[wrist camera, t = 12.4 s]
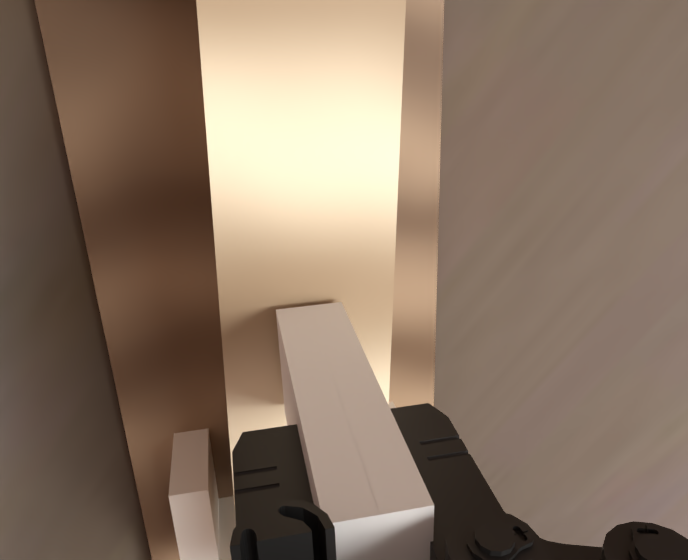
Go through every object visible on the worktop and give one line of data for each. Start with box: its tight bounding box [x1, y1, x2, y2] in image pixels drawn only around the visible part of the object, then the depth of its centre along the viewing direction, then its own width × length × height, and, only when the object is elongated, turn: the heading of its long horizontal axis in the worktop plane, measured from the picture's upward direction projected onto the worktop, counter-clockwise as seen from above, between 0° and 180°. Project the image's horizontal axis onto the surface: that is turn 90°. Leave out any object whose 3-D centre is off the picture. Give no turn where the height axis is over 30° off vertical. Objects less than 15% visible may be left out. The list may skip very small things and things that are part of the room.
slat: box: [196, 0, 406, 520], centre depth 20 cm, size 24×4×11 cm, turn 0°
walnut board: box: [34, 0, 444, 560], centre depth 25 cm, size 36×14×2 cm, turn 2°
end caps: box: [168, 402, 396, 560], centre depth 23 cm, size 30×10×4 cm, turn 2°
